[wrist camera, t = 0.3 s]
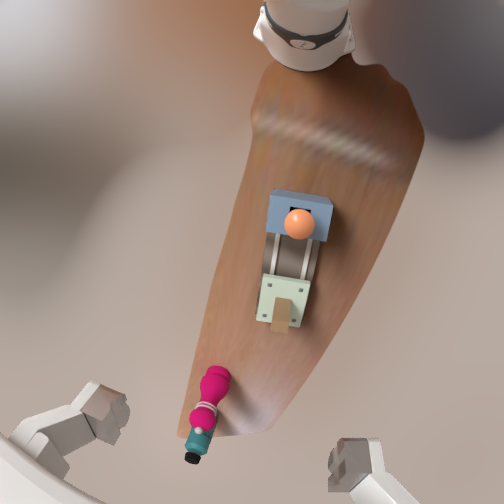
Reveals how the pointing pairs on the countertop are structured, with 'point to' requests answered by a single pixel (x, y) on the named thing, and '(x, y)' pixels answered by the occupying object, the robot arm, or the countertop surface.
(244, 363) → the countertop surface
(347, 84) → the countertop surface
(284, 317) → the carriage
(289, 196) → the blue side pieces
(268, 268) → the track
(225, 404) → the countertop surface
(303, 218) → the orange rounded knob
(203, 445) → the beverage bottle
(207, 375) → the pepper mill
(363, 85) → the countertop surface
